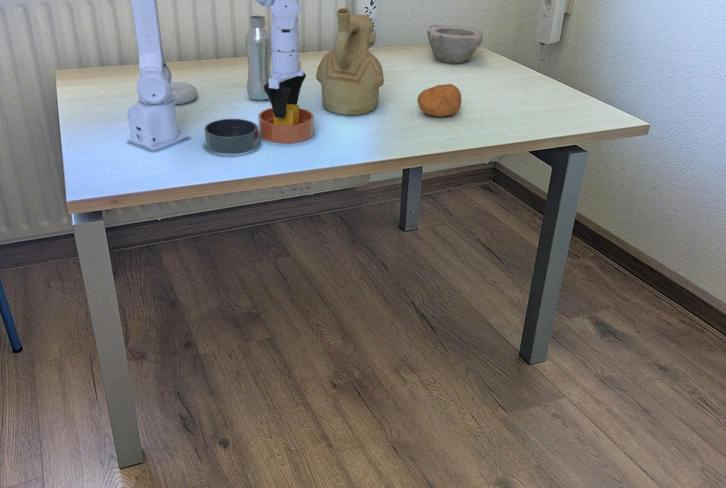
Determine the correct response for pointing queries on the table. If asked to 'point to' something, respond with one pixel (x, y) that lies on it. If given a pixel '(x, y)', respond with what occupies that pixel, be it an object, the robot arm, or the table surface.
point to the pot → (231, 136)
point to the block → (289, 116)
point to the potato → (440, 100)
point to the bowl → (286, 128)
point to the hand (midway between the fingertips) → (285, 111)
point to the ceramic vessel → (351, 68)
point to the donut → (182, 92)
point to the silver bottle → (258, 58)
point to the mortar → (453, 42)
